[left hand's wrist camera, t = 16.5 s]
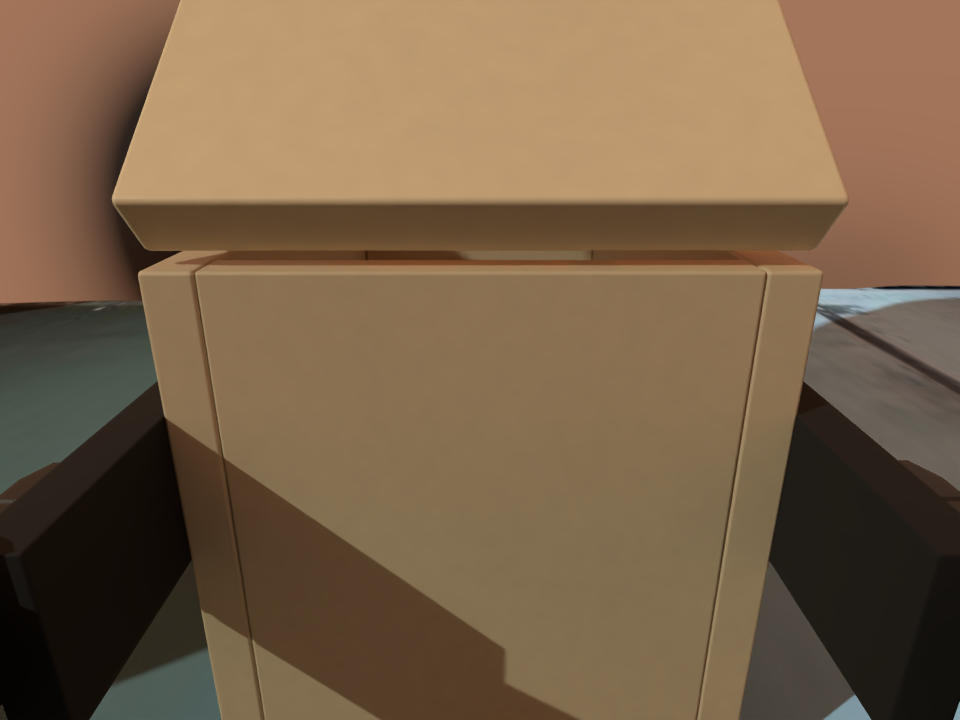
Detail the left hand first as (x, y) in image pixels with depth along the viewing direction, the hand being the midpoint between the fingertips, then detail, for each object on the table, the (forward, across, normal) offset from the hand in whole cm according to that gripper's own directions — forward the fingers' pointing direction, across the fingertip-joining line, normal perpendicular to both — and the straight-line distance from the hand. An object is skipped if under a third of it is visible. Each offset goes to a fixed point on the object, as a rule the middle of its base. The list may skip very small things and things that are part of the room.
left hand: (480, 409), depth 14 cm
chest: (+4, 0, -7) cm, 8 cm away
